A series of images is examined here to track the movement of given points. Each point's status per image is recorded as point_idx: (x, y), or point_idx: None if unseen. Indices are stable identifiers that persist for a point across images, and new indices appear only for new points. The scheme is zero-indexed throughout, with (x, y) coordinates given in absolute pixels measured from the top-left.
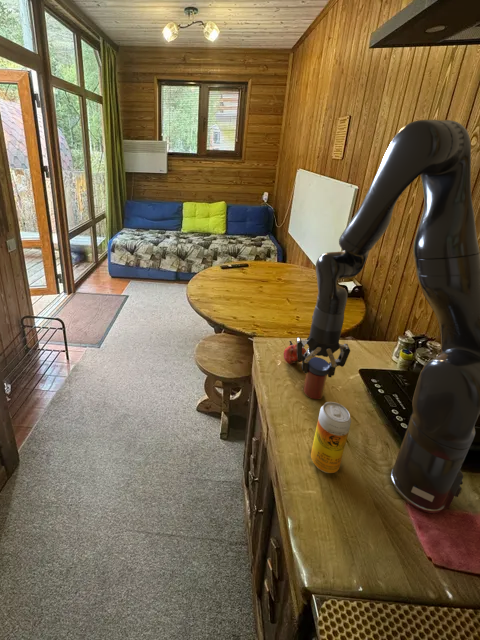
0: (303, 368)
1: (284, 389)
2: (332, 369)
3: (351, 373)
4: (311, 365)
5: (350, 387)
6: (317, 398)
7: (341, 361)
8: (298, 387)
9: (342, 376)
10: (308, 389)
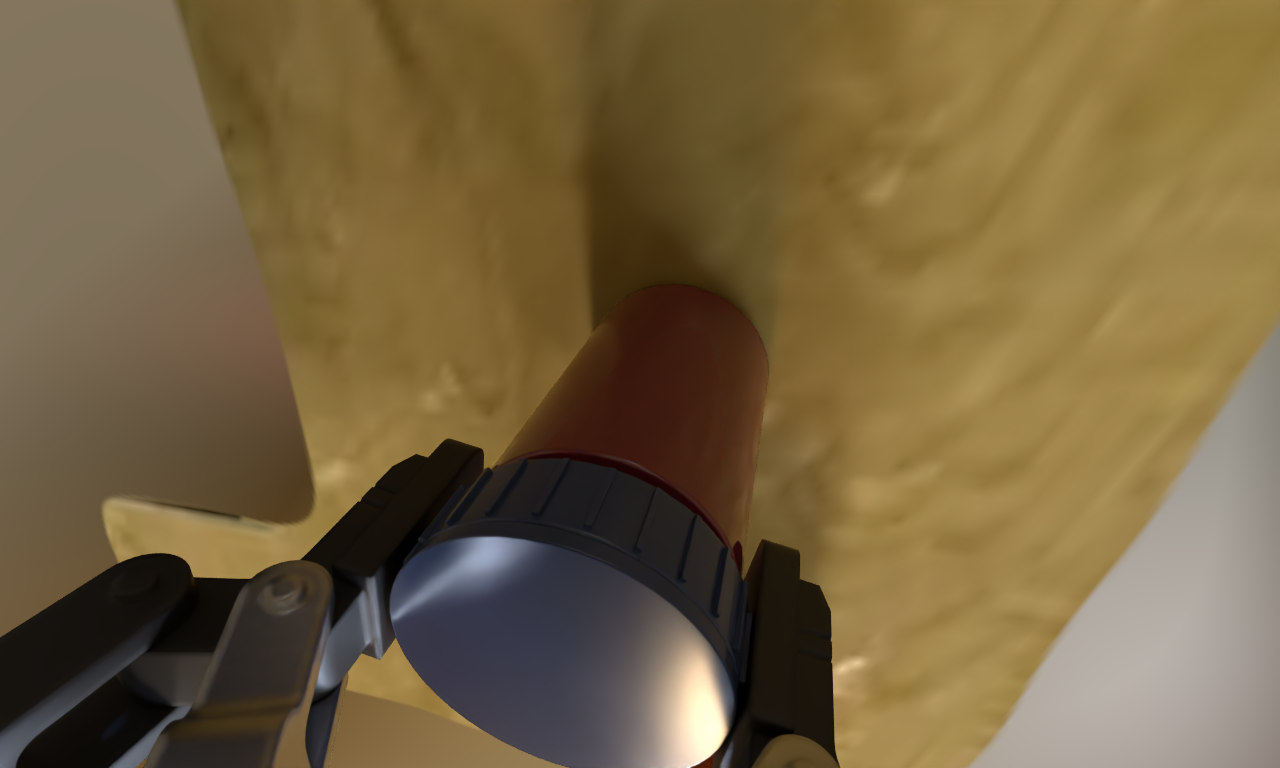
0: (812, 625)
1: (964, 423)
2: (369, 534)
3: (329, 501)
4: (703, 669)
5: (356, 388)
6: (669, 286)
7: (75, 664)
8: (797, 431)
9: None
10: (750, 368)
